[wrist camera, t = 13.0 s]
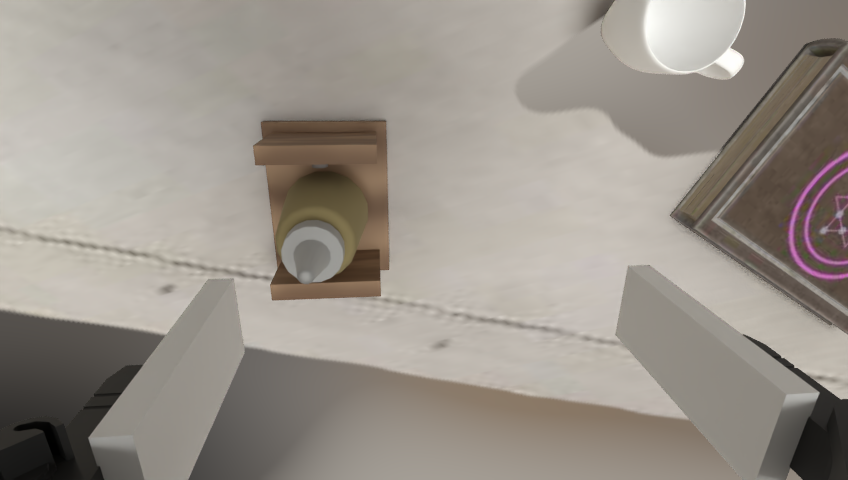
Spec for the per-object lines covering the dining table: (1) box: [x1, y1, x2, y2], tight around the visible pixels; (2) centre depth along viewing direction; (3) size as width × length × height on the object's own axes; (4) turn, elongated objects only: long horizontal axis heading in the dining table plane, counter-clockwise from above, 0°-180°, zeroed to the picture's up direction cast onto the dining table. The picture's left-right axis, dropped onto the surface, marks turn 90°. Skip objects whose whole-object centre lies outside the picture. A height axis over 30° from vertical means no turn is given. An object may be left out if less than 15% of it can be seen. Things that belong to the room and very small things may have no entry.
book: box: [670, 38, 848, 334], centre depth 53 cm, size 30×22×5 cm
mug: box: [601, 0, 746, 79], centre depth 41 cm, size 12×8×11 cm
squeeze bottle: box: [275, 171, 368, 284], centre depth 40 cm, size 8×8×18 cm
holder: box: [253, 121, 389, 300], centre depth 45 cm, size 16×12×9 cm
